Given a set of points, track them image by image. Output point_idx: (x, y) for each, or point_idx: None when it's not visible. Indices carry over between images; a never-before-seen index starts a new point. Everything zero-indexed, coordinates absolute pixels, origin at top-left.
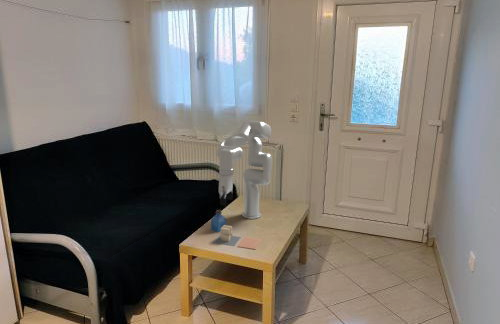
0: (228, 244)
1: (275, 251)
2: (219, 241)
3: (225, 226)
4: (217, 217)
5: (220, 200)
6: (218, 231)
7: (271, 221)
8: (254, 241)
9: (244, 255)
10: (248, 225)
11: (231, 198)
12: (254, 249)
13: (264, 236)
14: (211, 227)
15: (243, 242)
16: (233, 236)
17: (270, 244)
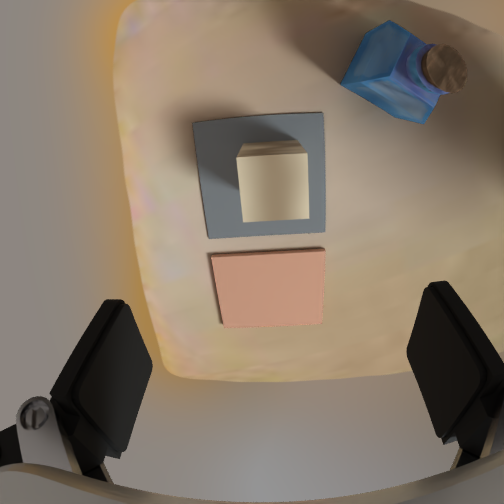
0: (213, 206)
1: (247, 375)
2: (224, 146)
3: (285, 177)
4: (392, 69)
5: (74, 358)
6: (345, 86)
7: (499, 291)
8: (291, 306)
9: (160, 302)
10: (465, 217)
11: (413, 367)
12: (223, 322)
13: (364, 317)
14: (369, 32)
15: (261, 268)
16: (319, 192)
17: (296, 354)
